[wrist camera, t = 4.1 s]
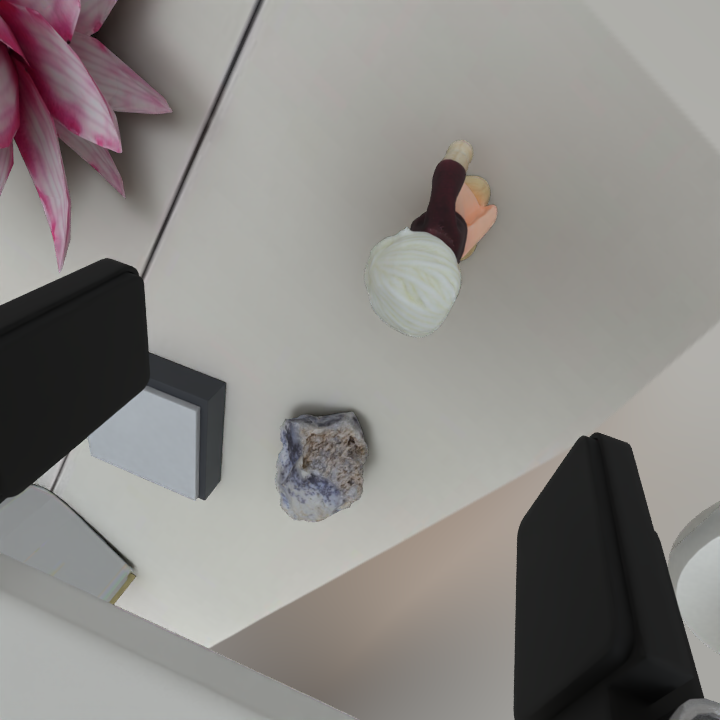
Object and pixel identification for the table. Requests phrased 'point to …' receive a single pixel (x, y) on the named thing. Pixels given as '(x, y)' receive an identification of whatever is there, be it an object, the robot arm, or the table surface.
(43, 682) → the robot arm
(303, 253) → the table surface
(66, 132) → the decorative flower
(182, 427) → the scale
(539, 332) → the table surface
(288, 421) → the mineral specimen
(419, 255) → the grandmother figurine
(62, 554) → the book
